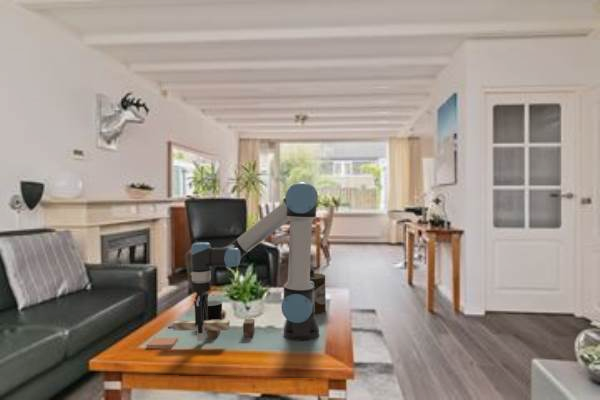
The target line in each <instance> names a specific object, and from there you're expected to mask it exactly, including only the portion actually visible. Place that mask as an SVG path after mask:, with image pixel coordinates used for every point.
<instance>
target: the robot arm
mask: <svg viewBox="0 0 600 400" xmlns="http://www.w3.org/2000/svg"><path fill="white" fill-rule="evenodd" d="M318 199H319V195H318V191H317V189H316V188H315V187H314V186H313V185H311V184H310V183H309V182H303V181H301V182H295V183H293V184H291V185H290V186H289V187H288V189H287V190H286V193H285V197H284V198H283V199H282V202H281V203H280V204H279V205H278V206H277V207H276V208H274V209H273V210H272V211H270V212H269V213H268V214H267V215H265V216H264V217H262V219H260V220H259V221H258V222H256V223H255V224H254V225H253V226H251V227H250V228H248V229H247V230H246V231H245V232H244V233H242V234H241V235H240V236H238V237H237V238H236V239H234V240H232V241H231V242H230V243H229V244H228V245H226V246H224V247H212V246H211V243H210V242H207V241H204V242H203V241H200V242H194V243H192V245H191V251H190V252H191V254H190V258H191V259H190V261H191V263H190V265H191V272H190V273H189V275H190V276H191V291H192V293H196V296H195V299H194V301H193V303H194V304H193V305H194V316H195V318H194V319H195V320H194V321H195V325H197V330H196V340H197V342H204V341H205V339H206V338H208V330H204V323H203V321H208V320H209V318H207V317H208V301H209V293H207V292H210V291H211V290H212V281H211V279H212V273H211V267H213V268H214V267H217V268H218V267H224V268H225V267H227V268H232V267H233V268H234V267H238V266H240V263H241V259H242V258H243V257H244V256H245V255H246V254H248V252H251V250H253V249H254V248H255V247H257V246H258V245H259V244H260V243H262V242H263V241H265V240H266V239H267V238H268V237H269V236H271V235H272V234H273V233H274V232H276V231H277V230H278V229H279V228H281V227H283V226H284V225H285V224H286V223H287V222H289V239H288V268H287V282H285V283H284V285H283V299H282V302H281V307H280V308H281V314H282V315H283V317H284V318H285V319H286V321H285V324H284V328H283V335H284V337H285V338H287V339H289V340H293V341H309V340H314V339H315V338H316V339H317V337H319V335H320V329H319V328H320V327H319V324H318V322H317V318H316V315H315V297H314V289H315V287H314V282H313V281H310V268H311V256H312V255H311V253H312V227H313V224H312V223H313V221H314V220H315V219H316V218H317V202H318Z"/></svg>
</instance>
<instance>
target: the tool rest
mask: <svg viewBox="0 0 600 400" xmlns="http://www.w3.org/2000/svg"><path fill="white" fill-rule="evenodd" d="M211 320H220V319H211ZM255 329H256V328H255V318H245V319H244V320H243V323H242V330H243V331H242V333H243V335H242V336H243V338H254V335H255V331H256V330H255ZM220 334H221V330H207V339H218V337H219V336H220Z"/></svg>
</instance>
